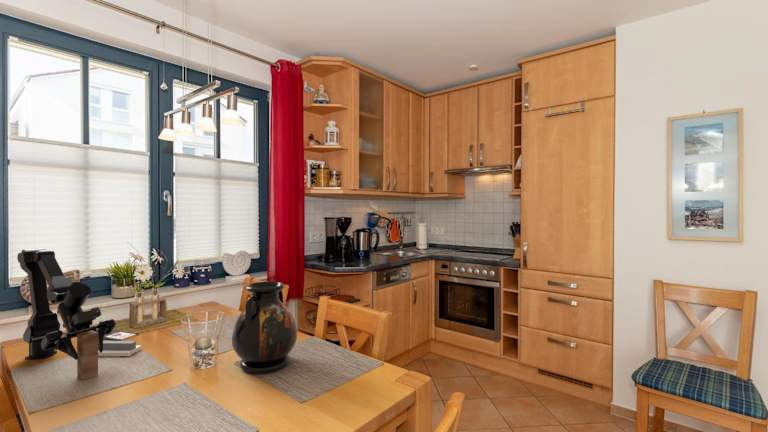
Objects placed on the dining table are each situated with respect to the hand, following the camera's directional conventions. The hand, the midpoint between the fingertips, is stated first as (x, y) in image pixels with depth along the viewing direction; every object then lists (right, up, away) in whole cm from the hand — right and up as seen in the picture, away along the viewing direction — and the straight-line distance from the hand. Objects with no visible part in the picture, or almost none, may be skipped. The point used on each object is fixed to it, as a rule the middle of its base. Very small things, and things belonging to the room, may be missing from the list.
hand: (89, 355), depth 119 cm
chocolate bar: (-21, -7, +39) cm, 45 cm away
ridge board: (-8, -7, +20) cm, 23 cm away
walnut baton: (-1, -7, +1) cm, 7 cm away
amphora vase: (+53, -7, +10) cm, 54 cm away
